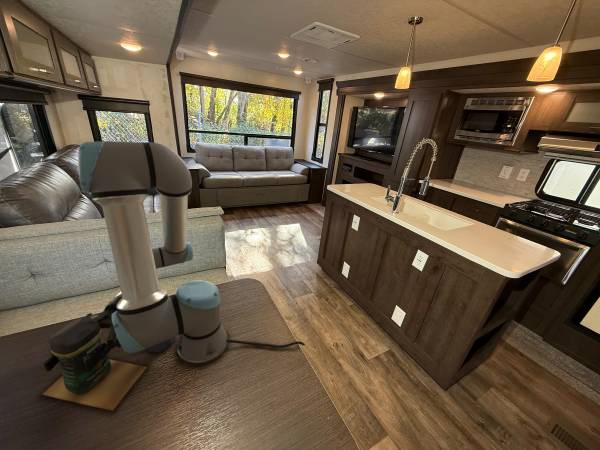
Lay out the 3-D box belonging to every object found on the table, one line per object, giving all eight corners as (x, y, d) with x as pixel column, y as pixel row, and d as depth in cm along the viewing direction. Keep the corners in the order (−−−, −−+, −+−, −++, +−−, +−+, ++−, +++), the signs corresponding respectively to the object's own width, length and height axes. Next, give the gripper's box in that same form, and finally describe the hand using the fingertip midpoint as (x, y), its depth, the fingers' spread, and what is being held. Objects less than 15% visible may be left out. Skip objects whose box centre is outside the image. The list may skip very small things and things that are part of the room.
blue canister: (178, 335, 85) (174, 310, 80) (163, 354, 78) (159, 327, 73) (157, 331, 85) (152, 306, 81) (141, 349, 78) (135, 323, 74)
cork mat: (146, 367, 73) (146, 367, 73) (113, 411, 62) (112, 410, 62) (85, 355, 75) (85, 354, 75) (42, 395, 64) (42, 394, 64)
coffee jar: (84, 399, 64) (63, 348, 56) (60, 390, 65) (37, 338, 58) (118, 366, 72) (104, 318, 65) (96, 358, 74) (80, 310, 66)
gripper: (159, 314, 83) (115, 379, 62) (92, 311, 82) (25, 377, 61) (156, 296, 80) (109, 359, 59) (87, 293, 79) (14, 356, 58)
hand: (66, 368), depth 60 cm, fingers open, 9 cm apart
